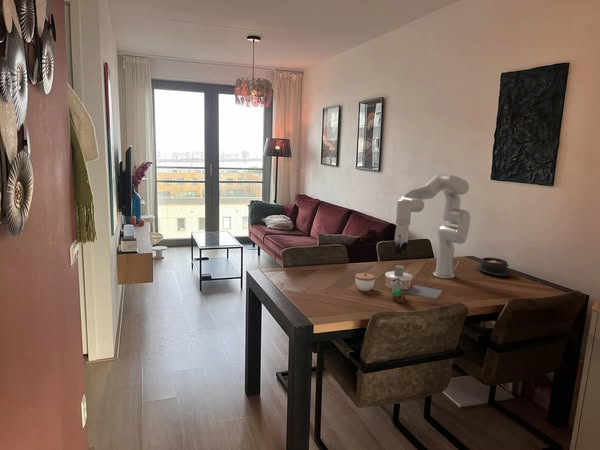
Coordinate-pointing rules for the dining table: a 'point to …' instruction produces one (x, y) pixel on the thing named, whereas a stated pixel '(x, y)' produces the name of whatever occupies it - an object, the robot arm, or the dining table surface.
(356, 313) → the dining table surface
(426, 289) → the mat
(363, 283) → the lidded jar
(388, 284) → the bowl
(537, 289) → the dining table surface
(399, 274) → the lid
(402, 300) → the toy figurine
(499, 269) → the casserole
